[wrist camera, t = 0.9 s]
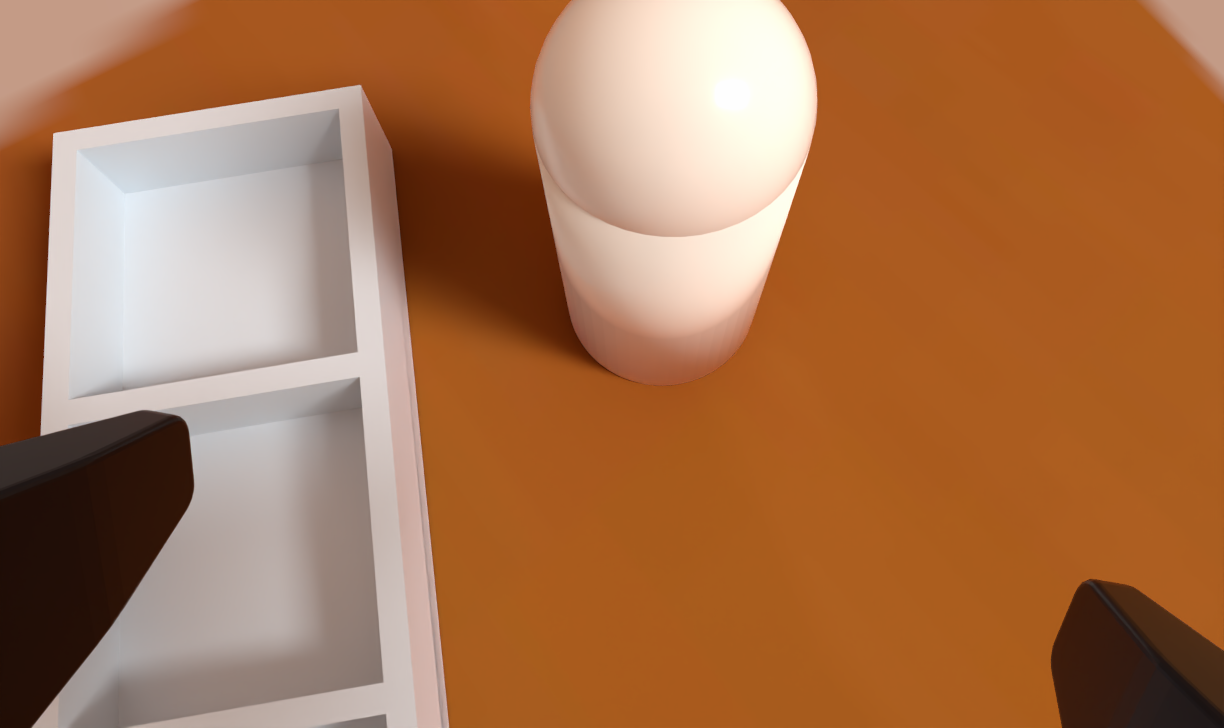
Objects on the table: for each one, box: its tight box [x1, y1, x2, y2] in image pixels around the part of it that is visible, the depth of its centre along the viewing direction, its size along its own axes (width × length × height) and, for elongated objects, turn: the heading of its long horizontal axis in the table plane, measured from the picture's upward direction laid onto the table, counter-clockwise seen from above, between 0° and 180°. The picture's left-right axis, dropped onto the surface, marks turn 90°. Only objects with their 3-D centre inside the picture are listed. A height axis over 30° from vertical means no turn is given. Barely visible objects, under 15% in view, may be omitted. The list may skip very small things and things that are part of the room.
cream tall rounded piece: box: [530, 0, 817, 386], centre depth 19 cm, size 5×5×11 cm
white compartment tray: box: [32, 85, 449, 728], centre depth 20 cm, size 22×8×3 cm, turn 9°
